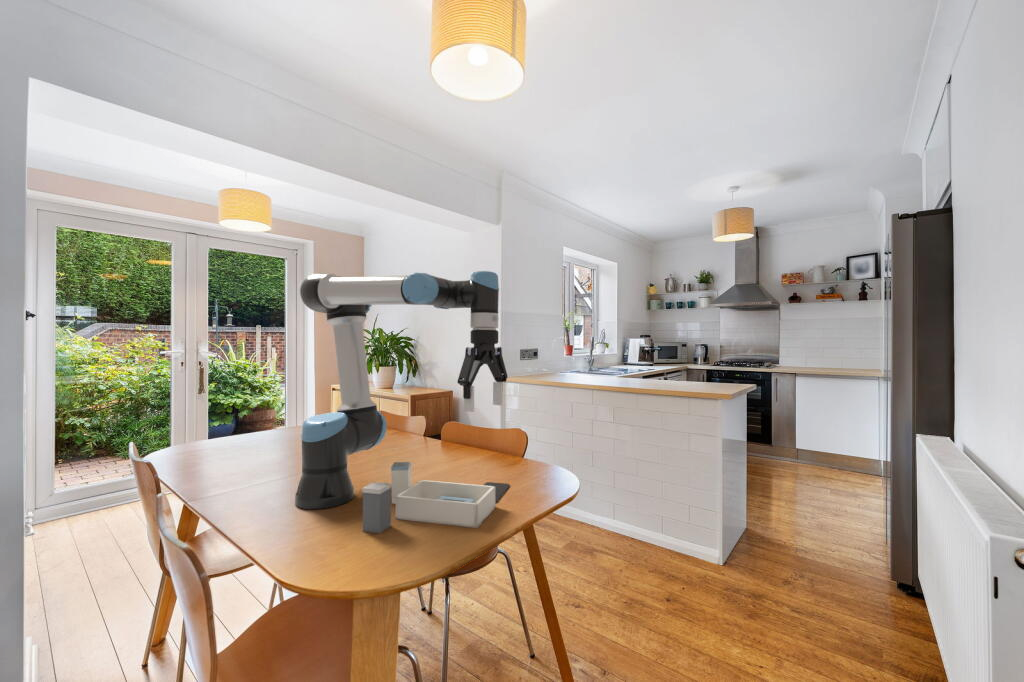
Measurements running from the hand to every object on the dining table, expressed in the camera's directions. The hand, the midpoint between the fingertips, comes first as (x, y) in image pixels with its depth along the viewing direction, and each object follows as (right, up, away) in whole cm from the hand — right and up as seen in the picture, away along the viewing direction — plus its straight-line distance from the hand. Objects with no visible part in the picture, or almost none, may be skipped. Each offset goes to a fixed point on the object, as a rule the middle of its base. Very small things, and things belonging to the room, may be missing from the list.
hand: (484, 408), depth 118 cm
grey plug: (-24, -26, -15) cm, 39 cm away
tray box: (-9, -26, -6) cm, 28 cm away
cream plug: (-23, -26, +3) cm, 35 cm away
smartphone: (+1, -26, +8) cm, 28 cm away
